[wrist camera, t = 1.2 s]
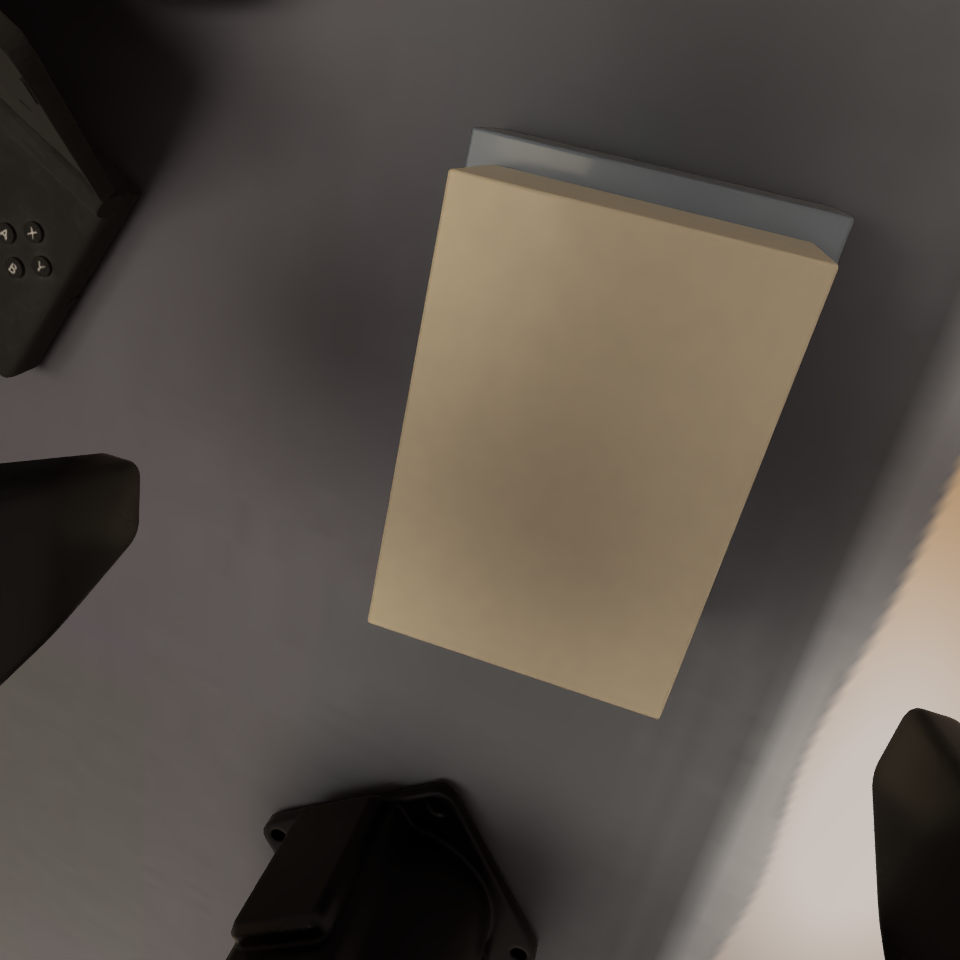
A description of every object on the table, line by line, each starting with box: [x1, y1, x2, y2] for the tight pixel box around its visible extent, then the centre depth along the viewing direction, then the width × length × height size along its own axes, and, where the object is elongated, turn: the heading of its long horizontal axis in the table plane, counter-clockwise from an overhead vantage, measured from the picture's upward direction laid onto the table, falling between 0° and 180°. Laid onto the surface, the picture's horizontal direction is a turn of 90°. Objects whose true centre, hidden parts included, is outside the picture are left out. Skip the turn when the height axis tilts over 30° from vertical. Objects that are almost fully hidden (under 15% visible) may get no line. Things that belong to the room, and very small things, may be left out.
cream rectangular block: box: [368, 164, 838, 719], centre depth 14 cm, size 8×6×3 cm
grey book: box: [465, 127, 854, 264], centre depth 16 cm, size 9×6×2 cm
